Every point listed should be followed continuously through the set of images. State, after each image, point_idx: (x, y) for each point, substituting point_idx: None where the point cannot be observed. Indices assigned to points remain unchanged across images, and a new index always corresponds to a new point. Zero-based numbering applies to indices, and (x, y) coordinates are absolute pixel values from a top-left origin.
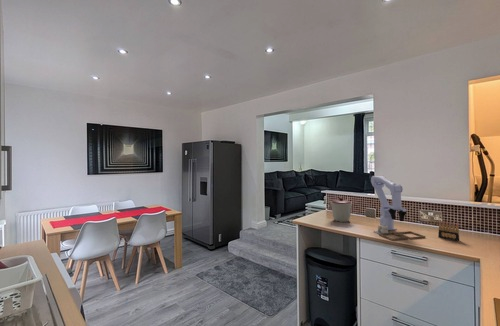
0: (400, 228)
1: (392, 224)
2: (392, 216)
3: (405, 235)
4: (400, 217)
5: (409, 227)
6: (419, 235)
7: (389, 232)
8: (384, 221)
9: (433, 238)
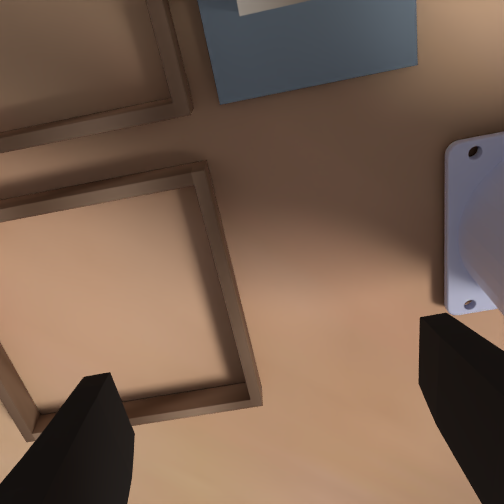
0: None
1: (498, 293)
2: (472, 386)
3: (9, 217)
4: (5, 478)
5: None
6: None
7: (272, 67)
8: None
9: None
